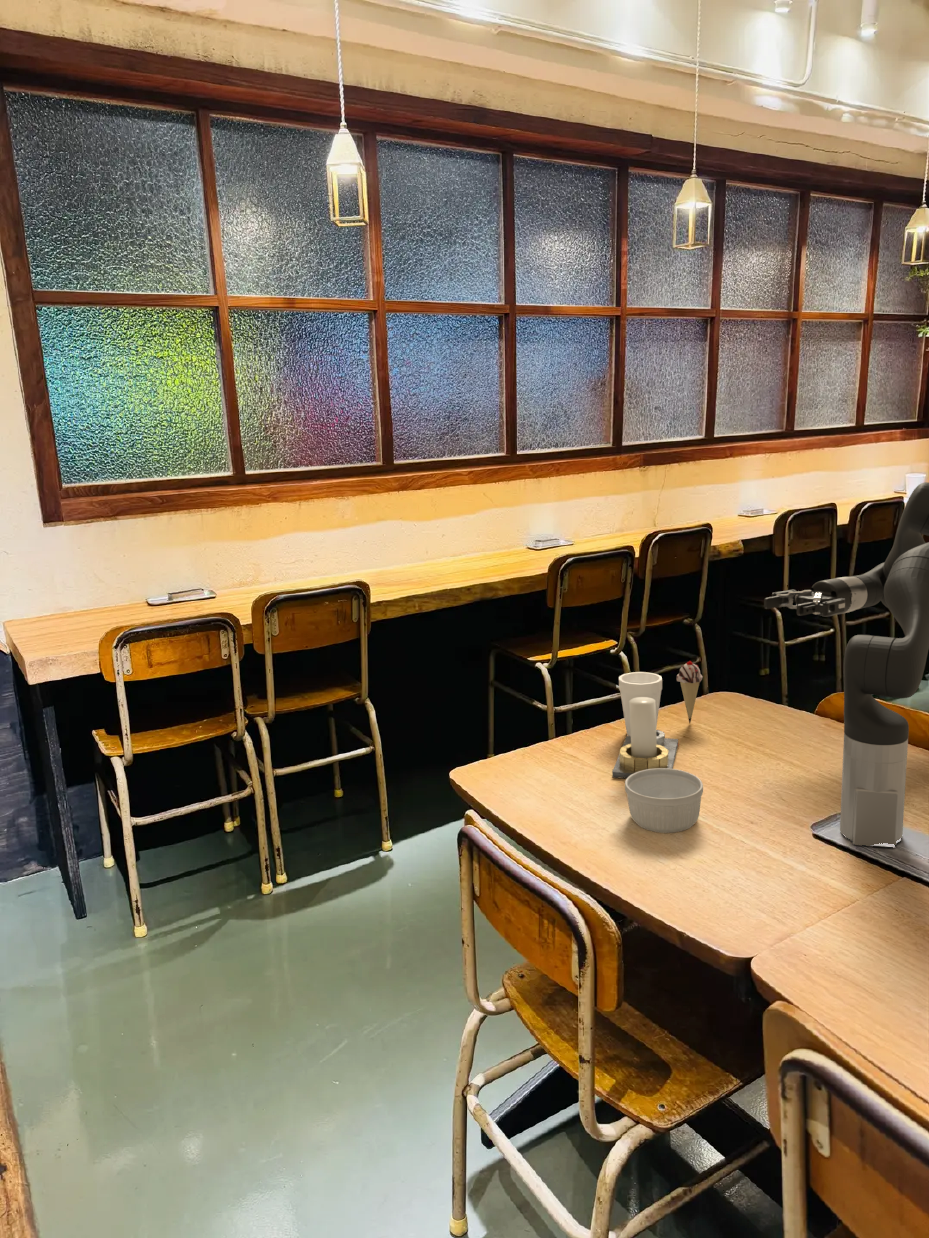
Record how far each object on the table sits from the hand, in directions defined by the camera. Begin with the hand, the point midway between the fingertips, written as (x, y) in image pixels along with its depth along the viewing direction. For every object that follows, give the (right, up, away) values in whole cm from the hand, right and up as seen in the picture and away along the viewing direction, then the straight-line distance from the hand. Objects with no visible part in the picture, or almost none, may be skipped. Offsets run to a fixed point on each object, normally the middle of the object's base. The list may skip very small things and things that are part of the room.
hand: (781, 607), depth 169 cm
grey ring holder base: (-26, -32, +4) cm, 41 cm away
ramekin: (-29, -38, -22) cm, 52 cm away
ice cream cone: (-12, -27, +23) cm, 37 cm away
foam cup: (-24, -28, +19) cm, 42 cm away
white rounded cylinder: (-28, -31, 0) cm, 42 cm away
